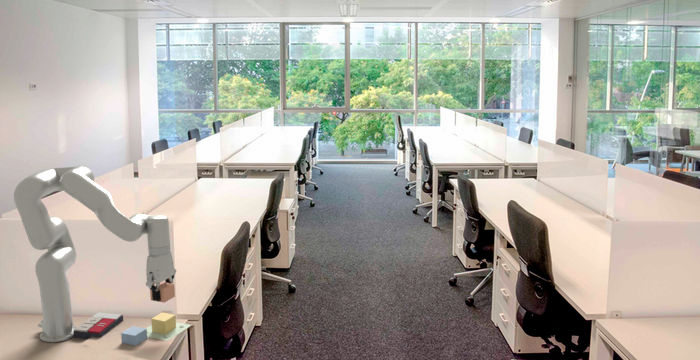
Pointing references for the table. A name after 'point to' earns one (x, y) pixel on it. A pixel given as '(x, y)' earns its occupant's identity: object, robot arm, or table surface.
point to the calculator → (97, 325)
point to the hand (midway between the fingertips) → (162, 296)
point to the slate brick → (134, 335)
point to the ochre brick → (163, 323)
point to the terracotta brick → (165, 291)
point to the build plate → (169, 335)
